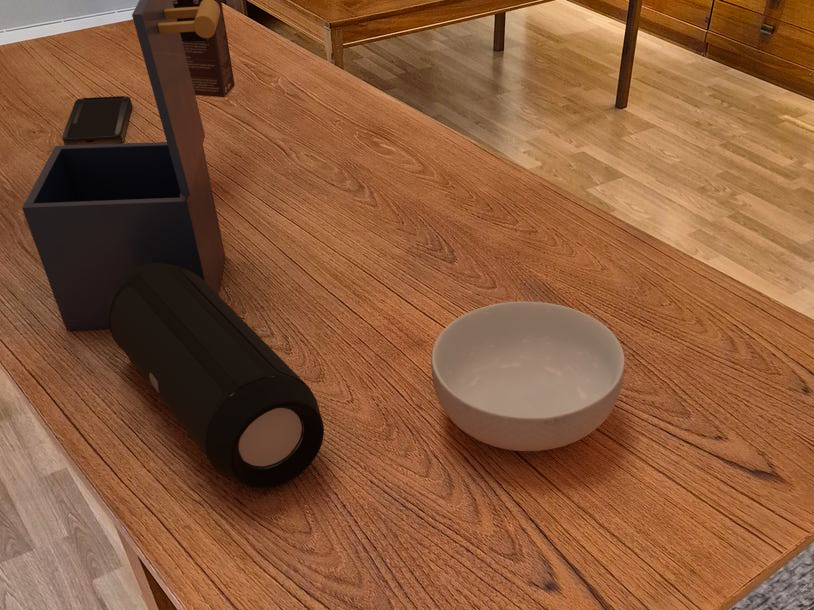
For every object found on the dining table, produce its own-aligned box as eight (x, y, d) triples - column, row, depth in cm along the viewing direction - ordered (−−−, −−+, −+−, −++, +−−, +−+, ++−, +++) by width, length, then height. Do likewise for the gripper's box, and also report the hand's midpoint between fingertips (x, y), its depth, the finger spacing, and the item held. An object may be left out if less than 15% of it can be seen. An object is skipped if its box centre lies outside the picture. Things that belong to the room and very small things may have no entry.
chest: (66, 331, 89) (21, 207, 80) (92, 262, 99) (55, 145, 90) (214, 323, 91) (187, 200, 82) (225, 256, 101) (202, 140, 92)
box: (236, 85, 112) (219, -21, 103) (225, 99, 108) (207, -9, 100) (189, 82, 112) (169, -24, 104) (176, 95, 109) (155, -13, 100)
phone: (131, 95, 132) (120, 136, 121) (133, 103, 133) (122, 144, 122) (75, 98, 131) (59, 139, 120) (77, 106, 132) (62, 147, 121)
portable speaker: (115, 364, 86) (85, 272, 79) (211, 330, 90) (191, 240, 83) (231, 517, 71) (207, 421, 64) (339, 468, 75) (327, 373, 68)
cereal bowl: (446, 355, 87) (445, 292, 83) (615, 368, 86) (625, 306, 81) (418, 471, 75) (415, 406, 70) (615, 489, 74) (626, 424, 69)
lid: (131, 14, 71) (202, 9, 71) (155, -32, 81) (217, -36, 81) (181, 196, 81) (243, 191, 82) (197, 136, 91) (252, 132, 92)
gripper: (140, -167, 99) (172, 11, 111) (113, -141, 87) (153, 57, 99) (209, -165, 100) (234, 11, 112) (192, -139, 87) (222, 56, 100)
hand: (196, 31), depth 105 cm, fingers closed on box, 5 cm apart
